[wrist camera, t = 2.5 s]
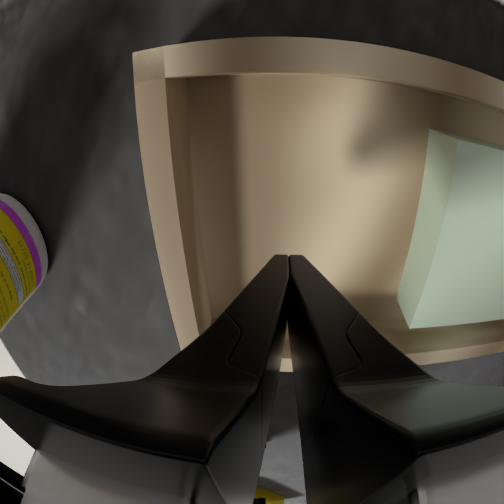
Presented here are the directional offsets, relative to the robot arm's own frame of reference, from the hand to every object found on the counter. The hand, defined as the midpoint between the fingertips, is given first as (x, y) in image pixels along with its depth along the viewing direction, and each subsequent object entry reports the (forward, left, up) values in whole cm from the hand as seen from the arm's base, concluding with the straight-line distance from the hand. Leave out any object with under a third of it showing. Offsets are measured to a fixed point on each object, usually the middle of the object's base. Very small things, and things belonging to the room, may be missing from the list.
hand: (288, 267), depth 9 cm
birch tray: (-2, -4, -4) cm, 6 cm away
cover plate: (-5, -8, -3) cm, 10 cm away
